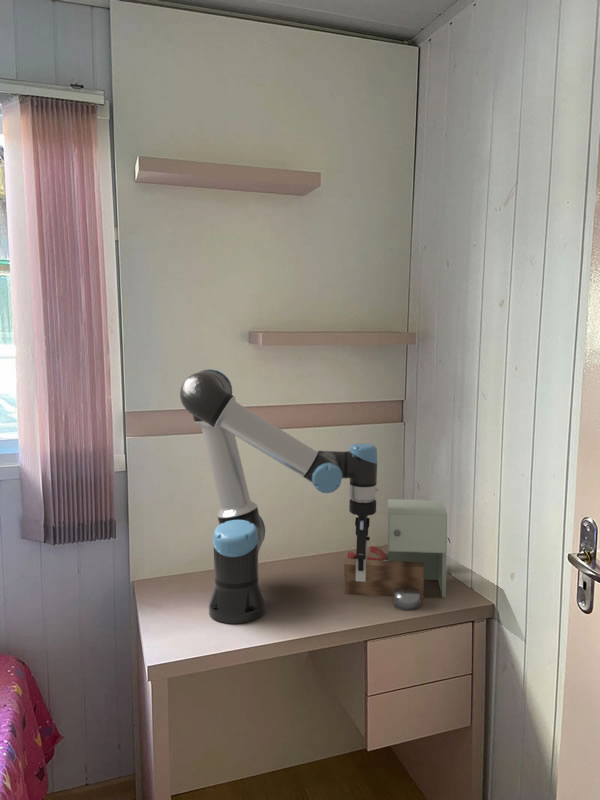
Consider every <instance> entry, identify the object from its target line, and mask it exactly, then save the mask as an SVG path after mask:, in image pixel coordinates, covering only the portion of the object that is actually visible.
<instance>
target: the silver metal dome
mask: <svg viewBox="0 0 600 800" xmlns="http://www.w3.org/2000/svg"><path fill="white" fill-rule="evenodd" d="M393 607H394V608H396V609H397V610H401V611H405V612H411V611H416V610H418V609H420V607H421V598H420V591H419V590H418V589H417V588H414V587H409V586H401V587H397V588H395V589H394V597H393Z"/></svg>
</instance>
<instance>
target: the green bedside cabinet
mask: <svg viewBox="0 0 600 800" xmlns="http://www.w3.org/2000/svg"><path fill="white" fill-rule="evenodd" d="M447 538H448V513H447V510H446V507H445V503H444V500H439V499H438V500H434V499H433V500H431V499H429V500H428V499H394V498H392V499H387V557H388V561H402V562H423V565H424V580H429V581H430V580H432V581H433V580H434V581H438V585H439V588H440V593H441V598H445V599H446V598H447V593H446V592H447V547H448V544H447V543H448V539H447Z"/></svg>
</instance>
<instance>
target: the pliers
mask: <svg viewBox="0 0 600 800" xmlns="http://www.w3.org/2000/svg"><path fill="white" fill-rule="evenodd" d="M369 551H370V552H371V553H374V554H376V555H377V556H378V558H377V557H373V556H372V557H371V556H367V560H380V561H388V556H386V555H385V553H384V552H383V550H382V549H381V548H379V547H376V546H373V545H372V546H370V547H369ZM354 556H356V553H355V552H352V551H349V552H347V559H354Z"/></svg>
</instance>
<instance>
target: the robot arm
mask: <svg viewBox="0 0 600 800" xmlns="http://www.w3.org/2000/svg"><path fill="white" fill-rule="evenodd" d="M179 397H180V401H181V402H180V403H181V404H182V406H183V407H184V409H185V410H186V411H187V412H189V413H190V414H191V415H192V419H193V422H194V423H195V424H196V425H198V426H199V427H200V428H201V432H202V435H203V440H204V444H205V449H206V452H207V456H208V459H209V464H210V465H209V466H210V468H211V472H212V477H213V481H214V484H215V489H216V490H215V491H216V493H217V494H216V495H217V497H218V501H219V506H220V509H219V511H218V512H217V514H216V516H217V520H218V525H217V526H216V527H215V529H214V530H213V538H212V545H213V568H214V586H213V590H212V593H211V596H210V601H209V603H208V614H209V617H210V618H212V620H214V621H216V622H220V623H225V624H244V623H249V622H253V621H256V620H258V619H259V618H261V617H262V616H263V615H264V614H265V613H266V599H265V597H264V594H263V591H262V587H261V585H260V582H259V552H260V550H261V547H262V545H263V542H264V540H265V537H266V526H265V525H266V524H265V522H264V519H263V518H262V516H261V515H260V513H259V509H258V505H257V503H256V502H253V501H252V500H251V498H250V494H249V490H248V485H247V481H246V477H245V473H244V468H243V464H242V463H243V462H242V460H241V456H240V451H239V448H238V443H237V439H236V438H238V439H241V440H242V441H244V442H245V443H247V444H248V445H250V446H252V447H253V448H255V449H256V450H258V451H260V452H261V453H263V454H265V455H266V456H268V457H270V458H272V459H273V460H274V461H277V462H278V463H279V464H282V465H283V466H285V467H286V468H288V469H289V470H292V471H293V472H294V473H296V474H298V475H299V476H301V477H302V478H303V479H304V478H305V479H306V480H307V481H308V482H311V483H312V485H313V487H314V488H315V489H316V490H317V491H319V492H320V493H322V494H330V493H334V492H335V491H336V490H338V489H339V488H340V486H341V483H342V481H343V479H349V498H350V499H349V509H348V510H349V512H350V513H351V514H352V515H354V516H355V515H356V516H357V517H355V521H354V525H355V535H356V549H355V550H356V551H355V552H356V553H355V554H356V556H354V559H356V581H361V582H365V581H366V560H367V557H368V541H370V539H371V538H370V537H371V536H369V529H370V522H371V521H370V519H371V518H370V517H368V516H373V515H375V514H376V512H377V500H376V498H377V492H379V491H380V489H379V487H377V483H378V480H377V478H378V449H377V447H376V446H375V445H374V444H372V443H353V444H351V445H350V448H349V450H348V451H347V450H346V451H339V450H336V451H333V450H315V449H314V448H312V447H311V446H308V445H307V444H305V443H303V442H302V441H300V440H298V439H297V438H295V437H294V436H292V435H291V434H289V433H287V432H285V431H284V430H283V429H281V428H279V427H278V426H276V425H274V424H272V423H271V422H269V421H268V420H266V419H265V418H263V417H261V416H259V415H258V414H256V413H255V412H253V411H252V410H250V409H248V408H247V407H245V406H244V405H241V404H240V403H238V402H237V400H236V396H235V395H233V386H232V383H231V381H230V379H229V377H227V375H226V374H224V373H223V372H221V371H220V370H216V369H211V368H210V369H203V370H200V371H198V372H195V373H193V374H191V375H189V376H188V377H186V379H185V380H184V381H183V383H182V384H181V387H180V391H179Z"/></svg>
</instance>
